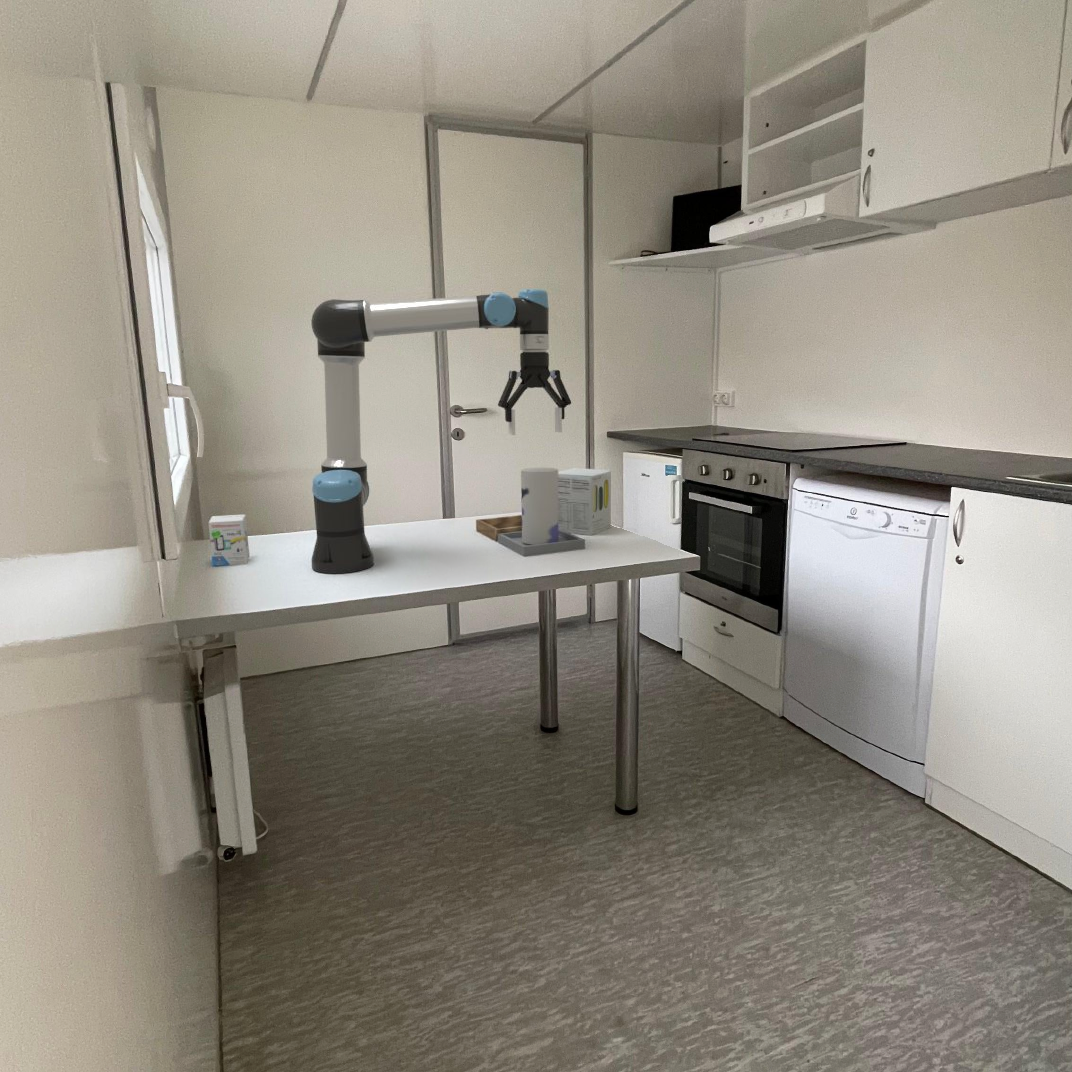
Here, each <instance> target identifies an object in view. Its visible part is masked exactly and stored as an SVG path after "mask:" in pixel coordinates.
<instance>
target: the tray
mask: <svg viewBox="0 0 1072 1072" xmlns="http://www.w3.org/2000/svg"><path fill="white" fill-rule="evenodd" d="M497 543H498V544H500V545H502V546H503V547H505V548H508V549H509V550H511V551H513V552H515V553H517V554H518V555H519V556H522V557H531V556H532V557H533V556H539V555H546V554H547V555H548V554H553V553H563V552H569V551H577V550H578V551H579V550H586V539H585V538H582V537H580V536H578V535H576V534H574V533H568V532H565V531H563V530H561V529H558V542H554V543H546V544H538V545H531V544H526V543H523V542H522V531H518V532H510V533H501V534H498V542H497Z"/></svg>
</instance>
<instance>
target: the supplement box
mask: <svg viewBox="0 0 1072 1072" xmlns="http://www.w3.org/2000/svg"><path fill="white" fill-rule="evenodd" d="M611 498H612V470H609V469H597V468H596V469H595V468H581V467H580V468H579V467H572V468H568V469H563V470H561V471H558V529H561V530H563V531H565V532H568V533H570V534H574V535H576V534H577V535H586V536H593V535H596V534H598V533H600V532H602V531H605V530H607V529H609V528H611V527H612V522H611V521H612V520H611V519H612V512H611V511H612V503H611V502H612V501H611V500H612V499H611Z"/></svg>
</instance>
